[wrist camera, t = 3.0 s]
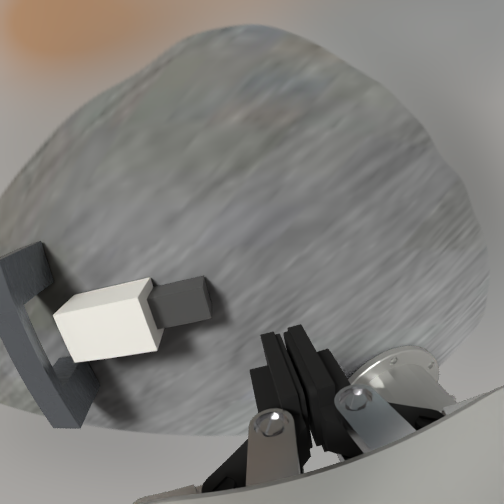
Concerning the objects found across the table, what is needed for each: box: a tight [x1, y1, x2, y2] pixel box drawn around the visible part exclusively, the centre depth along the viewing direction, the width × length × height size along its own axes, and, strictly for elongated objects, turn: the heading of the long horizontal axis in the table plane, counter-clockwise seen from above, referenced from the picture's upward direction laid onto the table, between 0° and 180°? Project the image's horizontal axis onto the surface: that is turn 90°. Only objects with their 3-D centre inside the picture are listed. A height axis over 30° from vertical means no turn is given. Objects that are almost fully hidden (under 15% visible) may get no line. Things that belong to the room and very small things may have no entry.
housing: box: [0, 241, 100, 428], centre depth 20 cm, size 3×14×6 cm, turn 12°
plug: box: [53, 276, 212, 363], centre depth 21 cm, size 12×4×4 cm, turn 102°
